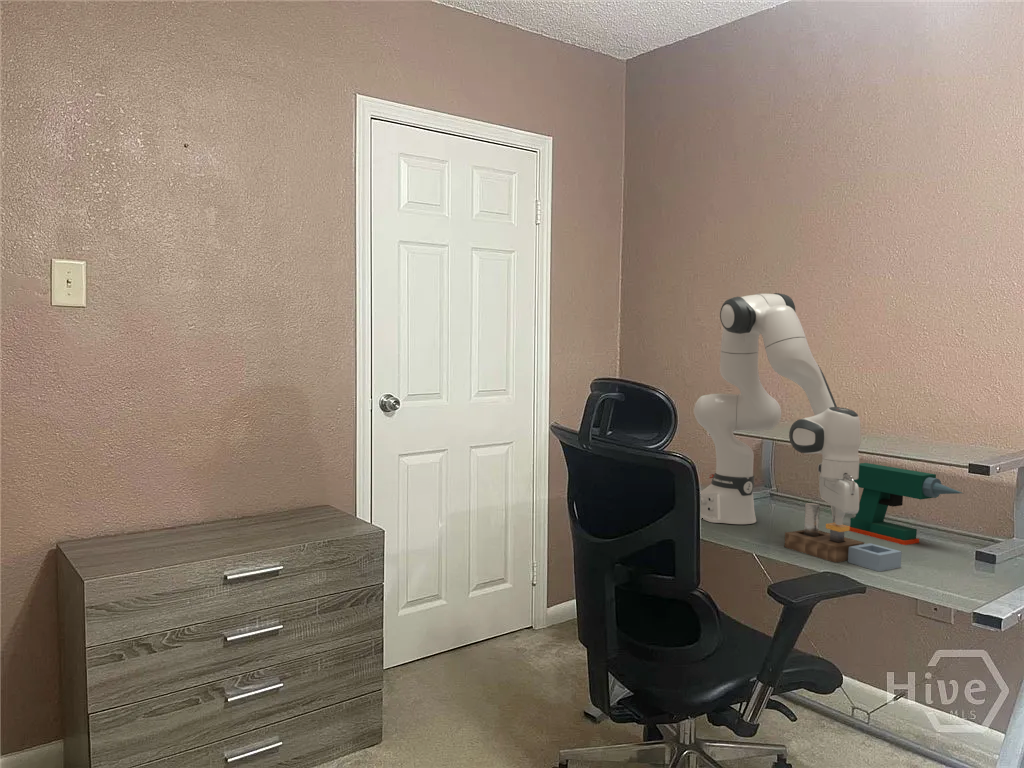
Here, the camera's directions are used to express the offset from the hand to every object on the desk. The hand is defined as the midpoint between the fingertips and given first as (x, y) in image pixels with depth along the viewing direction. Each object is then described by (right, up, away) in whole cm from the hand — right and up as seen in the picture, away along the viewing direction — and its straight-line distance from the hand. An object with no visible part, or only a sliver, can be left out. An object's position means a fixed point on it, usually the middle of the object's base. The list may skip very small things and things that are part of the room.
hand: (837, 523), depth 200 cm
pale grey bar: (-4, -8, +8) cm, 12 cm away
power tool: (+27, -9, +18) cm, 33 cm away
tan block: (0, -6, 0) cm, 6 cm away
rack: (+6, -9, -7) cm, 13 cm away
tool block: (-2, -8, +4) cm, 9 cm away
